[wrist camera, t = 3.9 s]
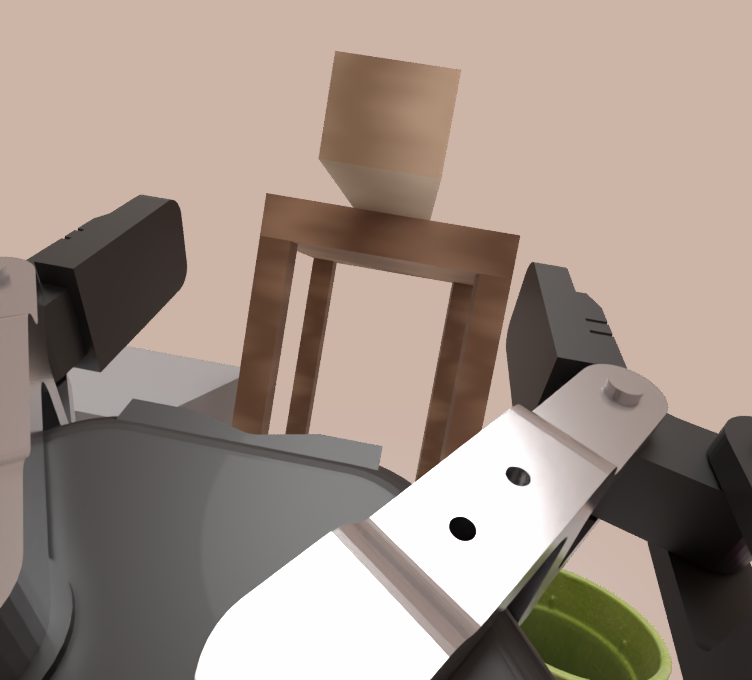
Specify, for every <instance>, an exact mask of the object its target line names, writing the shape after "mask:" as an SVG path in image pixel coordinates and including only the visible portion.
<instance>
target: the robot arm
mask: <svg viewBox="0 0 752 680" xmlns="http://www.w3.org/2000/svg"><path fill="white" fill-rule="evenodd" d="M186 273H187V261H186V252H185V244H184V234H183V226H182V217H181V211H180V208H179V205H178V203H177V202H176V201H174V200H169V199H164V198H158V197H152V196H146V195H139V196H137V197H135V198H134V199H132V200H130V201H129V202H127V203H126V204H124V205H123V206H121V207H119V208H118V209H116V210H115V211H113V212H111V213H110V214H107V215H104V216H100V217H97V218H94V219H92V220H91V221H89V222H87V223H86V224H84V225H82V226H81V227H79V228H78V231H76V230H74V231H73V232H71V233H69V234H68V235H67V236H65V239H60V240H58V241H56V242H55V243H53V244H52V245H50V246H48V247H47V248H45V249H43V250H42V251H40V252H39V253H37V254H35V255H34V256H33V257H31V258H29V259H27V260H23V259H19V258H13V257H0V680H556V679H555V677H554V676H553V674H552V673H551V671H550V670H549V668H548V667H547V665H546V664H545V663H544V661H543V660H542V658H541V657H540V655H539V654H538V652H537V651H536V649H535V648H534V647H533V645H532V644H531V642H530V641H529V639H528V638H527V636H526V635H525V633H524V632H523V631H522V629H521V628H520V626H521V625H522V623H523V622H524V621H525V619H526V618H527V617H528V615H529V614H530V612H531V611H532V609H533V608H534V607H535V605H536V604H537V602H538V601H539V599H540V598H541V596H542V595H543V593H544V592H545V591H546V589H547V588H548V586H549V585H550V584H551V582H552V581H553V580H554V578H555V577H556V576H557V575H558V573H559V572H560V571H561V569H562V568H563V567H564V566H565V564H566V563H567V562H568V560H569V559H570V558H571V557H572V555H573V554H574V552H575V551H576V550H577V549H578V548H579V546H580V545H581V544H582V542H583V541H584V540H585V538H586V537H587V536H588V535H589V533H590V532H591V531H592V530H593V528H594V527H595V526H596V524H597V523H598V522H599V520H600V519H601V520H604V521H606V522H608V523H610V524H612V525H614V526H616V527H618V528H621V529H623V530H625V531H627V532H629V533H631V534H634V535H635V536H638V537H640V538H642V539H644V540H646V541H648V546H649V550H650V554H651V557H652V561H653V565H654V569H655V573H656V577H657V580H658V584H659V588H660V592H661V596H662V600H663V604H664V607H665V611H666V615H667V619H668V623H669V627H670V630H671V634H672V638H673V642H674V645H675V649H676V653H677V657H678V661H679V664H680V669H681V672H682V676H683V680H752V567H751V564H750V562H751V561H752V417H751V416H738V417H734V418H731V419H730V420H728V421H727V423H726V424H725V426H724V427H723V428H722V430H721V431H720V432H719V434H717V433H715V432H712V431H709V430H707V429H704V428H701V427H699V426H696V425H694V424H691V423H689V422H686V421H683V420H681V419H678V418H676V417H674V416H672V415H670V414H668V413H667V411H668V403H667V400H666V398H665V396H664V395H663V393H662V392H661V391H660V390H659V389H658V387H656V386H655V385H654V384H653V383H652V382H650V381H649V380H648V379H646V378H645V377H643V376H641V375H639V374H637V373H635V372H633V371H631V370H628V369H627V367H626V365H625V362H624V360H623V358H622V356H621V353H620V351H619V348H618V346H617V344H616V341H615V339H614V337H612V332H611V329H610V327H609V325H607V320H606V318H605V315H604V313H603V310H602V308H601V307H600V306H599V305H598V304H597V303H596V302H595V301H594V300H593V299H592V298H590V297H589V296H588V295H587V294H586V293H580V292H576V291H575V289H574V286H573V283H572V280H571V278H570V275H569V272H568V269H567V268H564V267H558V266H553V265H547V264H540V263H535V262H532V263H531V264H530V265H529V267H528V269H527V272H526V274H525V278H524V281H523V284H522V287H521V290H520V293H519V296H518V299H517V302H516V305H515V309H514V311H513V314H512V317H511V320H510V324H509V328H508V333H507V339H506V352H507V361H508V370H509V379H510V388H511V397H512V406H513V407H512V408H510V409H509V410H508V411H507V412H505V413H504V414H503V415H501V416H500V417H499V418H497V419H496V420H495V421H494V422H492V423H491V424H490V425H489V426H487V427H486V428H485V429H483V430H482V431H481V432H479V433H478V434H477V435H476V436H474V437H473V438H472V439H470V440H469V441H468V442H467V443H465V444H464V445H463V446H462V447H460V448H459V449H458V450H456V451H455V452H454V453H453V454H451V455H450V456H449V457H447V458H446V459H445V460H444V461H442V462H441V463H440V464H438V465H437V466H436V467H435V468H433V469H432V470H431V471H429V472H428V473H427V474H426V475H424V476H423V477H422V478H420V479H419V480H418V481H417V482H415V483H414V484H411V483H410V482H408V481H407V480H405V479H404V478H402V477H401V476H399V475H397V474H395V473H394V472H392V471H390V470H388V469H386V468H383V467H381V466H379V462H380V457H381V451H382V446H378V445H373V444H367V443H362V442H357V441H352V440H347V439H341V438H336V437H331V436H326V435H321V434H284V435H256V434H248V433H245V432H243V431H240V430H238V429H236V428H233V427H231V426H229V425H227V424H224V423H222V422H220V421H217V420H215V419H213V418H210V417H208V416H206V415H203V414H201V413H199V412H197V411H194V410H191V409H186V408H180V407H175V406H170V405H165V404H160V403H154V402H149V401H144V400H139V399H134V398H133V399H132V400H131V401H130V402H129V404H128V405H127V406H126V407H125V409H124V410H123V411H122V412H121V414H120V415H119V416H110V417H99V418H92V419H86V420H80V421H76V420H75V411H74V402H73V393H72V385H71V382H70V379H69V375H68V372H69V371H70V370H71V369H72V368H73V367H74V368H79V369H84V370H90V371H95V372H100V373H101V372H102V371H103V370H104V369H105V368H106V367H107V366H108V364H109V363H110V362H111V361H112V360H113V359H114V358H115V357H116V356H117V355H118V354H119V353H120V352H121V351H122V350H123V349H124V348H125V347H126V346H127V344H128V343H129V342H130V341H131V340H132V339H133V338H134V337H135V336H136V335H137V334H138V333H139V332H140V331H141V329H143V328H144V327H145V326H146V325H147V323H148V322H149V321H150V320H151V319H152V318H153V317H154V316H155V315H156V314H157V313H158V312H159V311H160V310H161V309H162V308H163V307H164V306H165V305H166V304H167V302H168V301H169V300H170V299H171V298H172V297H173V296H174V295H175V294H176V293H177V292H178V291H179V290H180V289H181V287H182V285H183V283H184V281H185V277H186Z"/></svg>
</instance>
